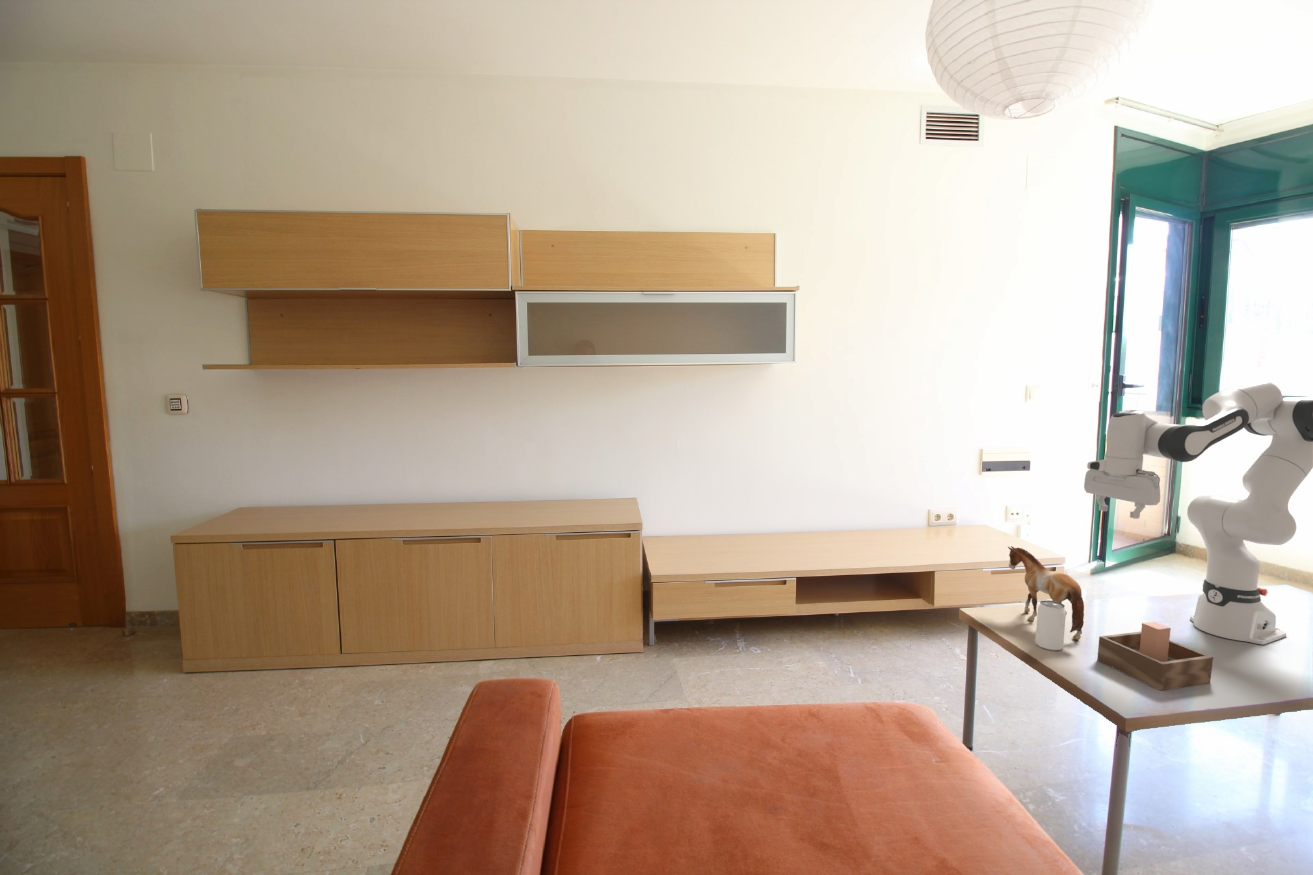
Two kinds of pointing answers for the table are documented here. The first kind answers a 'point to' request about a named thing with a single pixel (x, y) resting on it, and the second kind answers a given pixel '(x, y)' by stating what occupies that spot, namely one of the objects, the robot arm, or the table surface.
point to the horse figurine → (1049, 587)
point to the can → (1050, 625)
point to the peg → (1155, 640)
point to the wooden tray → (1155, 662)
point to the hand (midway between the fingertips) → (1118, 514)
